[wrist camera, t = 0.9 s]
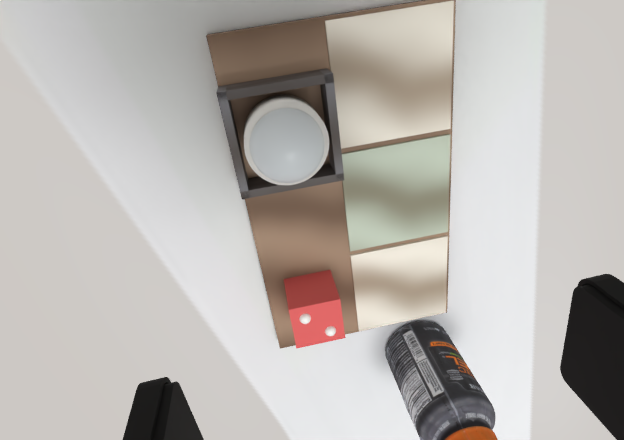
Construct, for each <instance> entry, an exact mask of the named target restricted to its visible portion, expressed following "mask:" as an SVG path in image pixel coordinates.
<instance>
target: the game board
mask: <svg viewBox="0 0 624 440" xmlns="http://www.w3.org/2000/svg"><path fill="white" fill-rule="evenodd" d="M455 2H456V0H423V1H417V2H410V3H404V4H398V5H391V6H385V7H379V8H372V9H366V10H360V11H353V12H347V13H341V14H334V15H328V16H322V17H315V18H309V19H303V20H296V21H290V22H284V23H277V24H271V25H265V26H258V27H252V28H246V29H240V30H233V31H227V32H221V33H214V34H208V35H206V37H207V41H208V45H209V49H210V53H211V58H212V62H213V66H214V70H215V75H216V79H217V83H218V89H217V97H218V101H219V105H220V109H221V113H222V117H223V122H224V126H225V130H226V134H227V138H228V142H229V147H230V151H231V155H232V159H233V163H234V168H235V172H236V176H237V180H238V184H239V188H240V193H241V197H242V199H245V202H246V206H247V210H248V214H249V219H250V223H251V227H252V231H253V236H254V240H255V244H256V248H257V253H258V257H259V261H260V265H261V269H262V274H263V278H264V282H265V286H266V291H267V295H268V299H269V303H270V308H271V312H272V316H273V320H274V325H275V329H276V333H277V337H278V341H279V346H280V348H284V347H289V346H294V345H296V343H295V338H294V333H293V329H292V324H291V319H290V314H289V310H288V303H287V297H286V291H285V284H284V279H287V278H292V277H297V276H302V275H307V274H311V273H316V272H321V271H326V270H331V273H332V276H333V279H334V282H335V285H336V288H337V291H338V294H339V297H340V301H341V308H342V316H343V324H344V331H345V334H349V333H354V332H358V331H363V330H368V329H372V328H377V327H382V326H386V325H391V324H396V323H400V322H405V321H409V320H414V319H419V318H423V317H428V316H433V315H437V314H442V313H447V296H448V259H449V222H450V185H451V149H452V112H453V75H454V38H455ZM281 94H285V95H293V96H296V97H299V98H301V99H303V100H304V101H306V102H307V103H309V104H310V105H311V106H312V107H313V108H314V109H315V111H316V112H317V114H318V115H319V116H320V118H321V119H322V121H323V122H324V124H325V126H326V128H327V131H328V136H329V150H328V155H327V158H326V160H325V162H324V164H323V165H322V167H321V168H320V170H319V171H318V172H317V173H316V174H315V175H314V176H312V177H311V178H309V179H308V180H306V181H304V182H301V183H298V184H294V185H277V184H273V183H270V182H268V181H266V180H264V179H262V178H261V177H260V176H258V175H257V174H256V173H255V172H254V171H253V169H252V168H251V166H250V165H249V163H248V161H247V159H246V155H245V151H244V126H245V122H246V119H247V117H248V115H249V113H250V112H251V110H252V109H253V108H254V107H255V106H256V105H257V104H258V103H259V102H261V101H262V100H264V99H266V98H268V97H271V96H274V95H281Z"/></svg>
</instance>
